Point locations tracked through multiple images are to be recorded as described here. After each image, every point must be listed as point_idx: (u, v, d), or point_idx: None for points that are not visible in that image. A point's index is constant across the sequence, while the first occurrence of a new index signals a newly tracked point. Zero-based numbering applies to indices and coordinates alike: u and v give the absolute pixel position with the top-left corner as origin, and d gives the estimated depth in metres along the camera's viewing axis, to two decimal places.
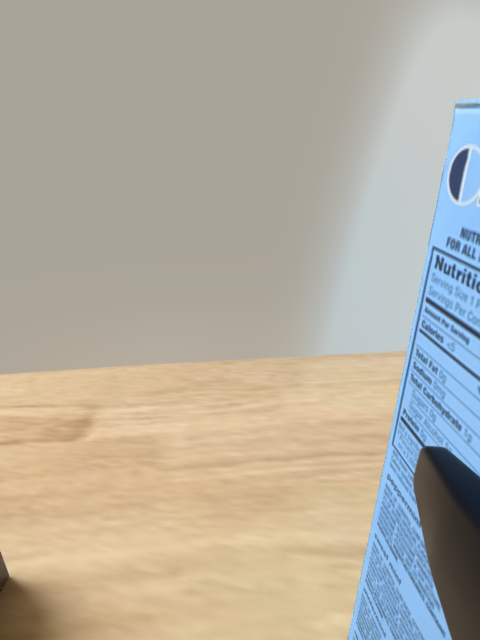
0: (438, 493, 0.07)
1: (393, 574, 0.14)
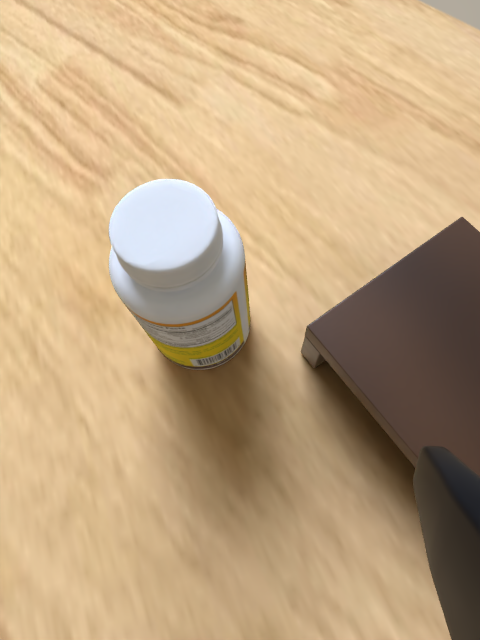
0: (438, 493, 0.07)
1: None
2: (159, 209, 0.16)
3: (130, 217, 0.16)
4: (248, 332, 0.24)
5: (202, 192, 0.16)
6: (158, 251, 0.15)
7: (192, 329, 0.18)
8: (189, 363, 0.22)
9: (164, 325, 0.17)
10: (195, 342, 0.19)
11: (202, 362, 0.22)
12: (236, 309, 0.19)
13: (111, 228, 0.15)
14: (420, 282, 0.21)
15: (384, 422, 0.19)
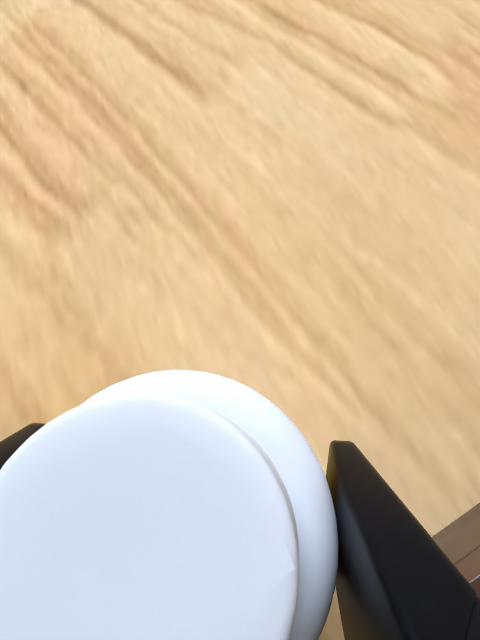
0: (336, 486, 0.07)
1: None
2: (118, 510, 0.05)
3: (27, 533, 0.05)
4: None
5: (251, 458, 0.05)
6: None
7: None
8: None
9: None
10: None
11: None
12: None
13: None
14: None
15: None
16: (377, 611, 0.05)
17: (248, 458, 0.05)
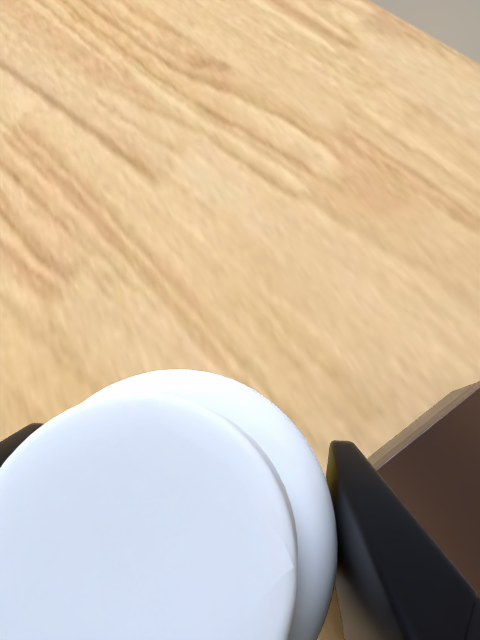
0: (336, 486, 0.07)
1: None
2: (117, 509, 0.05)
3: (27, 532, 0.05)
4: None
5: (250, 458, 0.05)
6: None
7: None
8: None
9: None
10: None
11: None
12: None
13: None
14: (439, 471, 0.17)
15: None
16: (377, 611, 0.05)
17: (247, 457, 0.05)
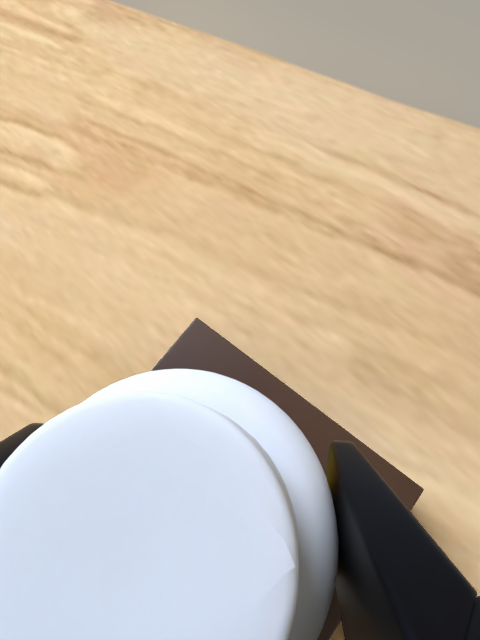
0: (336, 486, 0.07)
1: None
2: (118, 508, 0.05)
3: (28, 531, 0.05)
4: None
5: (251, 456, 0.05)
6: None
7: None
8: None
9: None
10: None
11: None
12: None
13: None
14: None
15: None
16: (377, 611, 0.05)
17: (248, 456, 0.05)
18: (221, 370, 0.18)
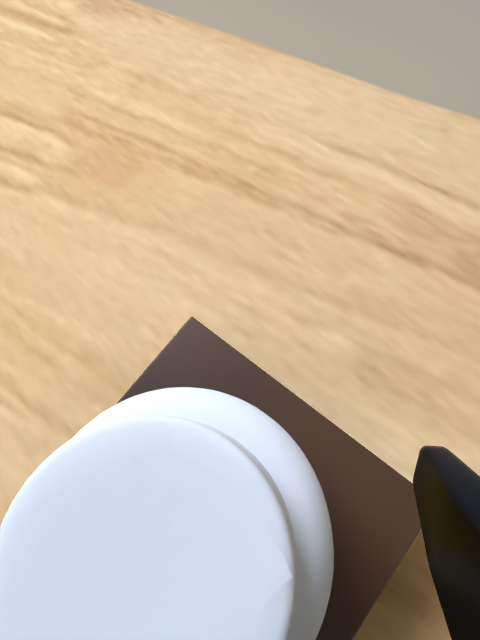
0: (438, 493, 0.07)
1: None
2: (130, 524, 0.06)
3: (48, 545, 0.06)
4: None
5: (252, 476, 0.06)
6: None
7: None
8: None
9: None
10: None
11: None
12: None
13: None
14: None
15: None
16: None
17: (249, 476, 0.06)
18: (217, 372, 0.17)
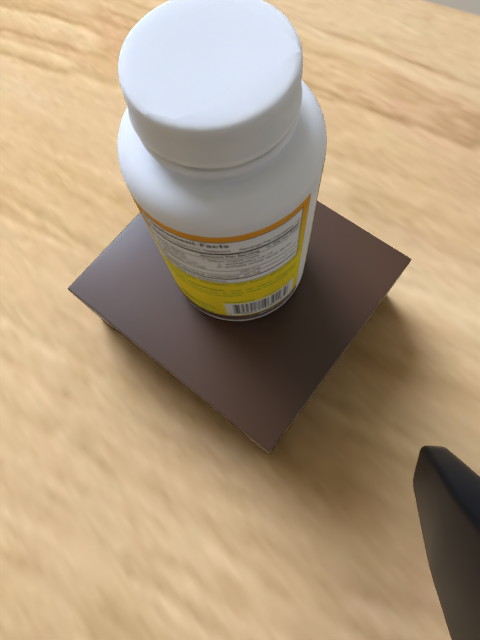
0: (438, 493, 0.07)
1: None
2: (203, 34, 0.09)
3: (155, 45, 0.09)
4: (301, 275, 0.18)
5: (276, 11, 0.09)
6: (200, 99, 0.09)
7: (238, 251, 0.12)
8: (222, 310, 0.16)
9: (199, 239, 0.11)
10: (237, 275, 0.13)
11: (240, 309, 0.16)
12: (302, 228, 0.13)
13: (122, 61, 0.09)
14: None
15: (160, 364, 0.18)
16: None
17: (274, 11, 0.09)
18: None
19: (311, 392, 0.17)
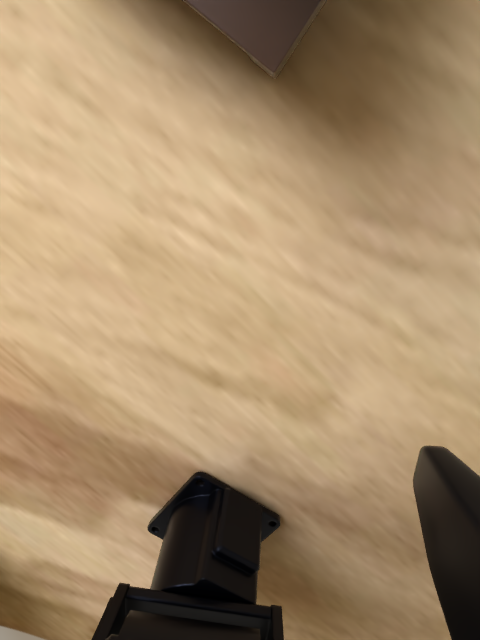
0: (438, 493, 0.07)
1: None
2: None
3: None
4: None
5: None
6: None
7: None
8: None
9: None
10: None
11: None
12: None
13: None
14: None
15: None
16: None
17: None
18: None
19: None
